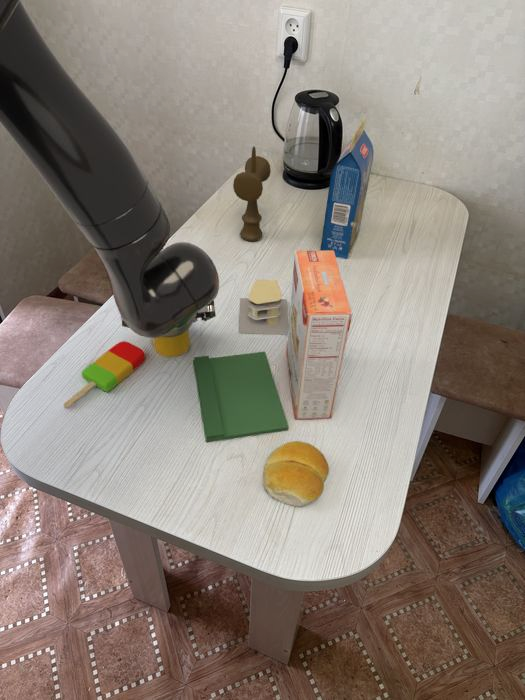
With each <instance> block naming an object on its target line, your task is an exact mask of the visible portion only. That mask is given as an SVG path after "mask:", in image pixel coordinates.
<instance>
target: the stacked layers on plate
mask: <svg viewBox="0 0 525 700" xmlns="http://www.w3.org/2000/svg"><path fill="white" fill-rule="evenodd" d="M288 307H289V306H288V299H287V298H283V293H282V289H281V286H280V283H279V280H278V279H255V280H254V283H253V285H252V286H251V288H250V290H249V292H248V294H247V297H240V298H239V309H238V310H239V311H238V315H239V316H238V334H249V335H250V334H253V335H254V334H256V335H288V329H289V308H288Z"/></svg>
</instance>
